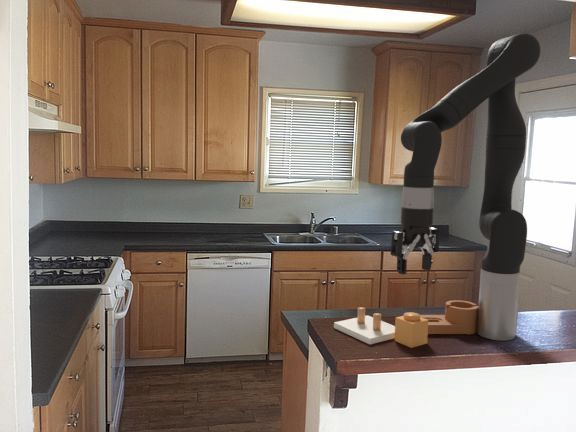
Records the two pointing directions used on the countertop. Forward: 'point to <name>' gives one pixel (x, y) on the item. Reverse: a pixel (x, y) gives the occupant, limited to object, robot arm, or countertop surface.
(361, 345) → the countertop surface
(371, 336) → the plate
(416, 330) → the cube with dome top
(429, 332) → the bracket
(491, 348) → the countertop surface
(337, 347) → the countertop surface
